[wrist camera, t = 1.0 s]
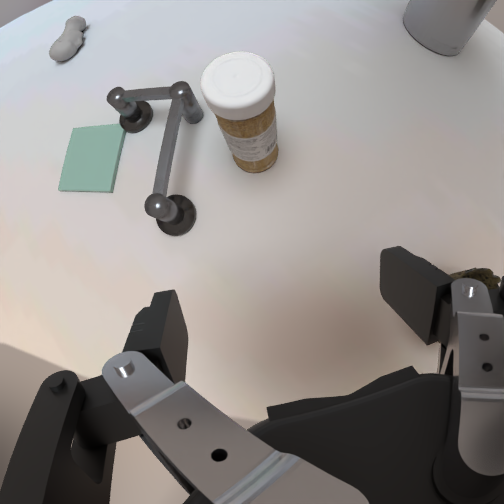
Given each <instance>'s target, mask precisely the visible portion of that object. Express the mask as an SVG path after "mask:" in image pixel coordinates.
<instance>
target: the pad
mask: <svg viewBox="0 0 504 504" xmlns="http://www.w3.org/2000/svg"><path fill="white" fill-rule="evenodd" d="M121 126H122V125H120V124H112V125H100V126H90V127H81V128H73V131H72V134H71V138H70V141H69V145H68V149H67V153H66V157H65V161H64V165H63V169H62V174H61V178H60V183H59V188H58V190H59V191H79V192H112V193H113V188H114V183H115V178H116V173H117V168H118V163H119V159H120V154H121V150H122V146H123V142H124V138H125V134H126V131H125V130H124V129H123V128H122V127H121Z"/></svg>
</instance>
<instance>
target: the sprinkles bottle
mask: <svg viewBox="0 0 504 504" xmlns="http://www.w3.org/2000/svg"><path fill="white" fill-rule="evenodd" d="M200 85H201V91H202V94H203V96H204V99H205V101H206V103H207V105H208V107H209V108H210V109H211V111H212V112H213V113H214V114H215V115H216V118H217V120H218V125H219V127H220V129H221V131H222V133H223V136H224V138H225V140H226V142H227V144H228V146H229V149H230V150H231V152H232V154H233V158H234V161H235V162H236V164H237V165H238V166H239V167H240V168H242V169H243V170H245V171H247V172H253V173H256V172H261V171H264V170H266V169H268V168H270V167H271V166H272V165H273V164H274V162H275V160H276V159H277V156H278V146H277V127H276V111H275V106H274V96H275V79H274V73H273V70H272V68H271V66H270V64H269V63H268V62H267V61H266V60H265V59H264V58H262V57H261V56H259V55H256V54H254V53H250V52H242V51H239V52H231V53H227V54H224V55H222V56H220V57H218V58H216V59H215V60H213V61H212V62H211V63H210V64H209V65H208V66H207V67H206V69H205V70H204V72H203V74H202V77H201V82H200Z"/></svg>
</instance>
